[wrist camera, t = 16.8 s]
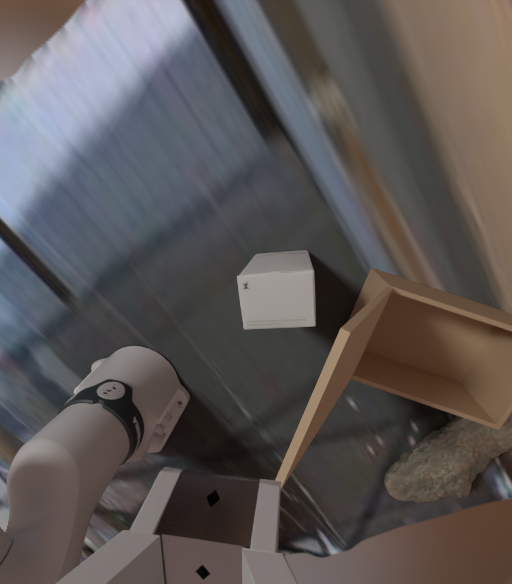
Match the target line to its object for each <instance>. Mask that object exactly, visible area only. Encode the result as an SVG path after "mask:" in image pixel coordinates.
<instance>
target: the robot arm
mask: <svg viewBox="0 0 512 584" xmlns="http://www.w3.org/2000/svg"><path fill="white" fill-rule="evenodd" d="M91 370H92V372H91V373H90V374H89V375H88V376H87V377H86V378H85V379H84V380H83V381H82V382H81V383H80V385H79V386H78V387H77V388H76V389H75V391H74V393H75V395H74V396H73V397H72V398H71V399H69V400H68V401H67V402H66V403H65V405H64V406H63V407H62V408H61V409H60V411H59V412H58V414H57V416H56V417H55V418H54V419H53V420H52V421H50V422H49V423H48V424H47V425H46V426H45V427H44V428H43V429H41V430H40V431H39V432H38V433H37V434H36V435H35V436H33V437H32V438H31V439H30V440H29V441H28V442H27V443H25V444H24V445H23V446H22V447H21V448H20V450H19V451H18V453H17V454H16V456H15V458H14V460H13V462H12V464H11V467H10V470H9V473H8V477H7V494H8V501H9V521H8V526H7V529H6V533H5V532H4V531H3V530H2V529H1V528H0V584H297V581H296V580H295V577H294V575H293V573H292V571H291V569H290V567H289V565H288V563H287V560H286V558H285V556H284V554H281V553H278V542H279V518H280V495H281V482H280V481H274V480H266V479H259V478H250V477H240V476H231V475H218V474H211V473H204V472H198V471H191V470H185V469H184V470H183V469H176V468H169V467H164V468H163V469H162V470H161V471H160V473H159V475H158V477H157V478H156V480H155V482H154V484H153V486H152V488H151V490H150V492H149V494H148V496H147V498H146V500H145V502H144V504H143V506H142V507H141V509H140V511H139V513H138V515H137V517H136V519H135V521H134V523H133V525H132V527H131V529H130V531H129V530H123V531H121V532H120V533H119V534H118V535H116V536H115V537H114V538H112V539H111V540H110V541H109V542H107V543H106V544H105V545H104V546H102V547H101V548H100V549H99V550H97V551H96V552H95V553H93V554H92V555H91V556H90V557H88V558H87V559H86V560H85V561H83V562H82V563H81V564H80V558H81V553H82V548H83V543H84V539H85V535H86V532H87V528H88V525H89V522H90V519H91V517H92V514H93V512H94V509H95V507H96V505H97V503H98V502H99V500H100V498H101V496H102V495H103V493H104V491H105V489H106V488H107V486H108V485H109V483H110V481H111V480H112V478H113V476H114V475H115V473H116V472H117V471H118V469H119V467H120V466H121V465H122V464H124V463H125V462H136V461H140V460H141V459H142V458H143V457H144V456H145V454H146V453H156V452H160V451H161V450H162V448H163V447H164V445H165V443H166V442H167V440H168V438H169V436H170V434H171V433H172V431H173V429H174V427H175V425H176V424H177V422H178V420H179V418H180V416H181V415H182V413H183V411H184V409H185V407H186V406H187V404H188V402H189V400H190V394H189V393H188V391H187V390H186V389H185V388H184V387H183V386H182V385H181V383H180V382H179V379H178V377H177V374H176V372H175V370H174V369H173V367H172V366H171V364H170V363H169V362H168V361H167V360H166V359H165V358H164V357H163V356H161V355H160V354H158V353H157V352H155V351H153V350H151V349H148V348H145V347H140V346H129V347H124V348H121V349H119V350H117V351H116V352H114V353H113V354H112V355H111V356H110V357H108V358H104V359H100V360H97V361H96V362H95V363H94V364H93V365H92V367H91ZM179 401H180V402H182V403H180V402H179Z"/></svg>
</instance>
